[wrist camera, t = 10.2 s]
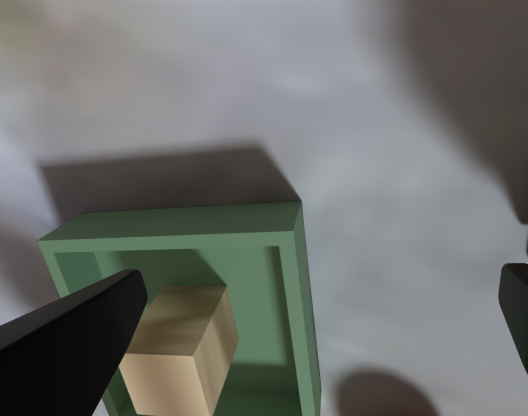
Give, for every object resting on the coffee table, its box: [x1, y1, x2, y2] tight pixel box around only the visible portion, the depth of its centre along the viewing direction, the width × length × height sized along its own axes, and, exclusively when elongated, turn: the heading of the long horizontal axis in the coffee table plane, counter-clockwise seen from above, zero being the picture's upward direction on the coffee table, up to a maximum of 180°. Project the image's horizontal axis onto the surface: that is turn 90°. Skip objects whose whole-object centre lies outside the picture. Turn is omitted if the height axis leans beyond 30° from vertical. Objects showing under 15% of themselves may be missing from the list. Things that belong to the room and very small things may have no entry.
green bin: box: [37, 201, 321, 416], centre depth 24 cm, size 15×15×4 cm
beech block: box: [119, 286, 239, 416], centre depth 22 cm, size 4×4×6 cm
